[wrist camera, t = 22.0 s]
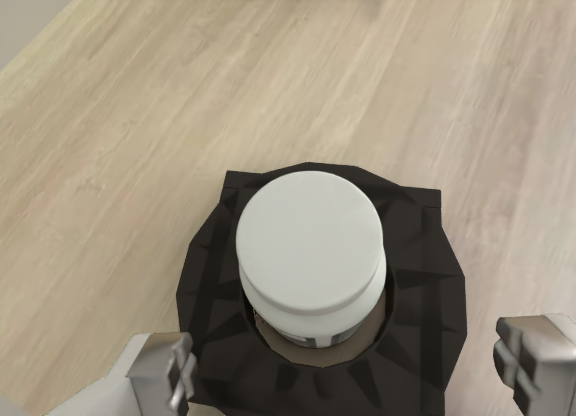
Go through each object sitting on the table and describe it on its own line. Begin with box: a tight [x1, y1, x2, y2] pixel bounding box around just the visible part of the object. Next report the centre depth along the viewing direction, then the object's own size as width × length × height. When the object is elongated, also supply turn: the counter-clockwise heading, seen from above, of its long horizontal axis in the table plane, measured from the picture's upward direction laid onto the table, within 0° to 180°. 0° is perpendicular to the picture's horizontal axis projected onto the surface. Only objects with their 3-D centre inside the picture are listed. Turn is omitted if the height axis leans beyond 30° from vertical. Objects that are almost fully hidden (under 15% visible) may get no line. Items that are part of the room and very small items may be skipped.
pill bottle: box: [236, 171, 386, 348], centre depth 16 cm, size 6×6×10 cm
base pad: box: [176, 162, 467, 416], centre depth 19 cm, size 14×14×2 cm
